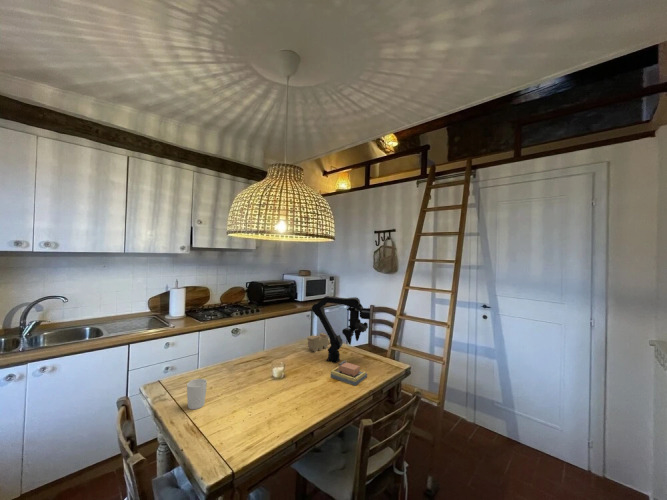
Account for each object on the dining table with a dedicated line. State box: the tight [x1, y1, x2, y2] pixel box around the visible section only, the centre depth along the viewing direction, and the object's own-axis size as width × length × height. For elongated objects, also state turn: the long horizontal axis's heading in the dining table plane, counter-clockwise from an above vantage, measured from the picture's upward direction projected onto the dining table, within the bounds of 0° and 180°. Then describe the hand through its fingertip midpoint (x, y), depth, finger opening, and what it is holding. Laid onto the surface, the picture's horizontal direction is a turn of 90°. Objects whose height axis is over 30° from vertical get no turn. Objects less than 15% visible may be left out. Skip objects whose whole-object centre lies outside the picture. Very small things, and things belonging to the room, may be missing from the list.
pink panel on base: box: [338, 360, 361, 377], centre depth 156 cm, size 10×6×5 cm, turn 55°
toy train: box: [306, 332, 330, 353], centre depth 198 cm, size 6×17×10 cm, turn 137°
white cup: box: [186, 378, 208, 410], centre depth 123 cm, size 8×8×10 cm
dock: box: [330, 365, 368, 387], centre depth 156 cm, size 16×13×4 cm
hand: (353, 342), depth 175 cm, fingers open, 9 cm apart
